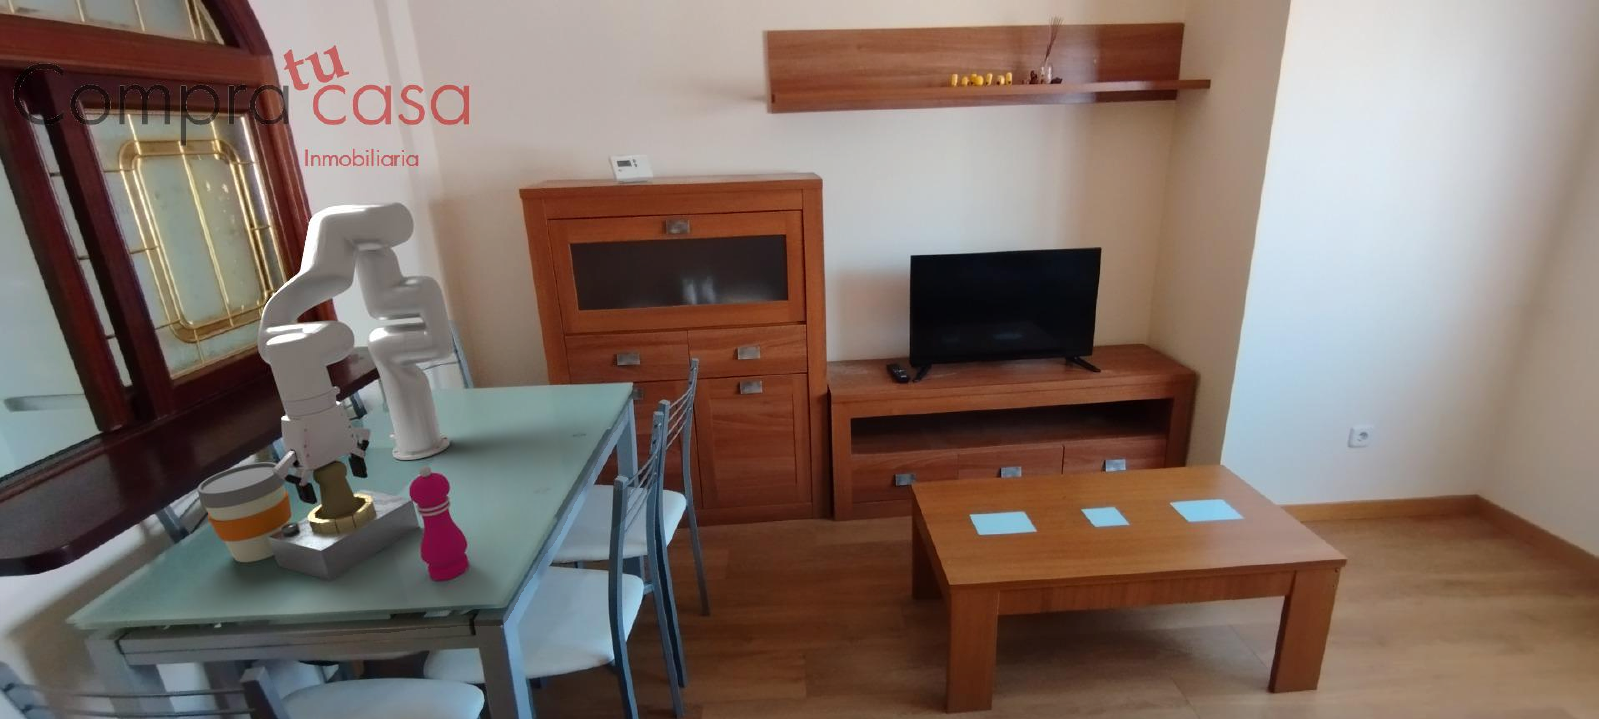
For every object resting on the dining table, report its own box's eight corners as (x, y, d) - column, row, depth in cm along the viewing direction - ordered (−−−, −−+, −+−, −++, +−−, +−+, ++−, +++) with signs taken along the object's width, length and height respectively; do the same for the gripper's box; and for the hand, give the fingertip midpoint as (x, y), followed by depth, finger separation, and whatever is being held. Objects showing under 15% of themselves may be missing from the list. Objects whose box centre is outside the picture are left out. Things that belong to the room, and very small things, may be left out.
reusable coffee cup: (204, 569, 125) (176, 496, 121) (255, 531, 137) (231, 463, 133) (273, 566, 125) (248, 492, 120) (318, 528, 137) (297, 459, 132)
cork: (369, 510, 130) (354, 457, 127) (341, 528, 125) (325, 473, 121) (344, 507, 132) (329, 455, 129) (315, 524, 127) (299, 470, 123)
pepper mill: (436, 560, 124) (411, 459, 118) (478, 556, 125) (455, 455, 119) (419, 584, 117) (391, 479, 111) (463, 580, 118) (437, 475, 112)
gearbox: (278, 565, 125) (265, 527, 123) (369, 515, 141) (359, 480, 138) (330, 580, 120) (317, 540, 117) (419, 526, 136) (410, 490, 133)
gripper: (342, 383, 130) (365, 465, 136) (243, 420, 115) (274, 510, 121) (370, 387, 128) (392, 470, 133) (272, 425, 113) (302, 517, 118)
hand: (336, 489), depth 127 cm, fingers open, 9 cm apart
